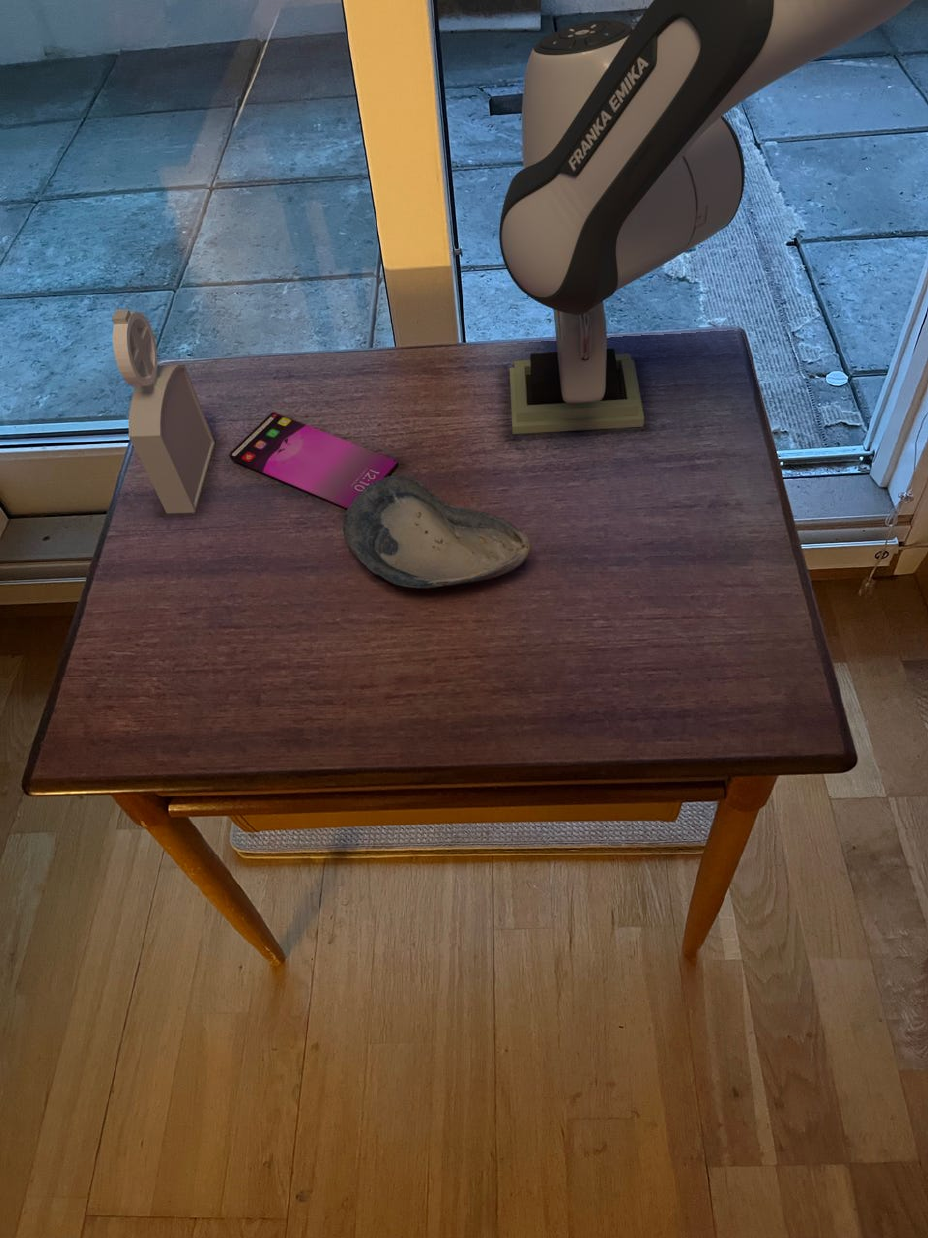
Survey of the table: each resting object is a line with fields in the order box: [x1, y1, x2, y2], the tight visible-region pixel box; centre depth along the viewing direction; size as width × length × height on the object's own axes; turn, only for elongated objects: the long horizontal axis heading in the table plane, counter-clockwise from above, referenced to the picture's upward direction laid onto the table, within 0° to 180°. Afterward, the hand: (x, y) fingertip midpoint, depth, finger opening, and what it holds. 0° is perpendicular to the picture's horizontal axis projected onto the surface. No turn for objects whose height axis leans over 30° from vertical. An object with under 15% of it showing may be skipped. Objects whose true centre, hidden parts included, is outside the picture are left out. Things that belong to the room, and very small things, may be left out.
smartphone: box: [228, 411, 399, 510], centre depth 87 cm, size 7×15×1 cm, turn 59°
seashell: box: [342, 474, 532, 589], centre depth 77 cm, size 15×12×5 cm
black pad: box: [529, 347, 619, 405], centre depth 87 cm, size 8×4×3 cm, turn 90°
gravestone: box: [111, 308, 216, 515], centre depth 80 cm, size 3×9×18 cm, turn 178°
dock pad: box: [509, 352, 645, 435], centre depth 89 cm, size 12×9×2 cm
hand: (574, 376), depth 87 cm, fingers closed on black pad, 4 cm apart
